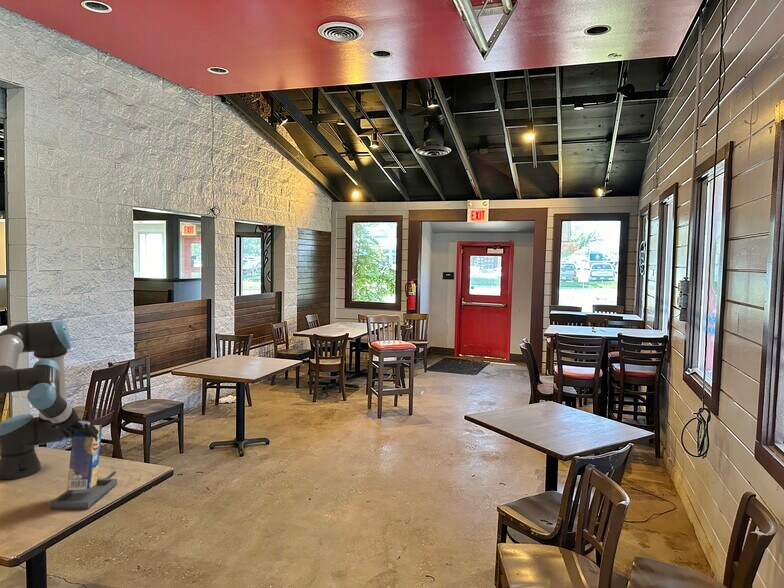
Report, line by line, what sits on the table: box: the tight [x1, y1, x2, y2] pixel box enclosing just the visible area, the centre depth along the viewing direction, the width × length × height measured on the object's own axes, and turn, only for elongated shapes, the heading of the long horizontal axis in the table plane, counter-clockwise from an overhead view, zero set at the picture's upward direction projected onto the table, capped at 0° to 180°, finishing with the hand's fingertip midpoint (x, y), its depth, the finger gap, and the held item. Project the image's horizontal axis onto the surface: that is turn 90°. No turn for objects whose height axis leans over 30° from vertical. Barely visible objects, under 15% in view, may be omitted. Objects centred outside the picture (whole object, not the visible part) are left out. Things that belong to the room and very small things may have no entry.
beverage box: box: [66, 424, 103, 491], centre depth 195 cm, size 7×11×22 cm, turn 15°
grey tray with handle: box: [50, 470, 118, 510], centre depth 201 cm, size 30×13×2 cm, turn 0°
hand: (91, 443), depth 199 cm, fingers closed on beverage box, 4 cm apart
